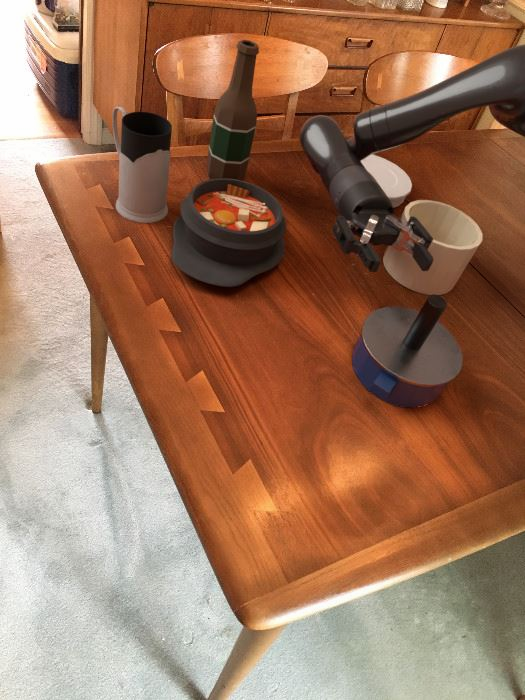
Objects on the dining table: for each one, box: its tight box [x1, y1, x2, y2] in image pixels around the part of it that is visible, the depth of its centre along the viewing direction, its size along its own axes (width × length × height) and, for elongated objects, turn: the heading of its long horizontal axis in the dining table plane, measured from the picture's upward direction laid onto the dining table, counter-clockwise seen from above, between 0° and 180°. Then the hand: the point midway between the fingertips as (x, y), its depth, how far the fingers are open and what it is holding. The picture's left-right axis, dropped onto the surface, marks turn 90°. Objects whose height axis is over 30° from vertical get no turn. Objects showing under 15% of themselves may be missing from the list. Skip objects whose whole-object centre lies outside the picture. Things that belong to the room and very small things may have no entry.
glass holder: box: [112, 106, 173, 224], centre depth 91 cm, size 9×14×15 cm, turn 39°
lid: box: [361, 154, 413, 209], centre depth 116 cm, size 17×20×3 cm
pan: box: [351, 319, 448, 408], centre depth 79 cm, size 14×19×5 cm
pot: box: [382, 199, 483, 296], centre depth 96 cm, size 14×14×10 cm
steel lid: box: [360, 294, 464, 387], centre depth 75 cm, size 15×15×9 cm
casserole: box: [170, 178, 287, 288], centre depth 89 cm, size 25×19×8 cm
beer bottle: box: [206, 39, 260, 181], centre depth 99 cm, size 8×8×24 cm
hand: (403, 267), depth 78 cm, fingers open, 8 cm apart
